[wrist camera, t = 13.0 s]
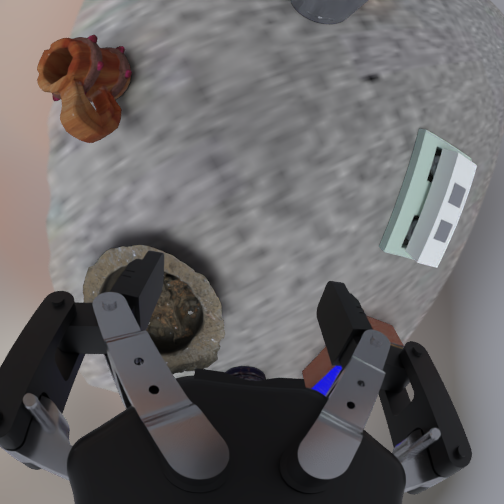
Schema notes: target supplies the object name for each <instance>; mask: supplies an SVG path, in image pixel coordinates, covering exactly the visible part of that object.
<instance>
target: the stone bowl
mask: <svg viewBox="0 0 504 504" xmlns="http://www.w3.org/2000/svg"><path fill="white" fill-rule="evenodd" d="M149 250H150V251H156V252H162V253H164V279H163V288H162V292H161V295H160V297H159V299H158V302H157V304H156V307H155V309H154V311H153V314H152V316H151V319H150V321H149V322H150V324H149V325H148V326H147V329H146V331H147V332H148V334H149V335H150V337H151V339H152V341H153V343H154V344H155V346H156V348H157V350H158V351H159V353H160V355H161V356H162V358H163V360H164V361H165V363H166V365H167V366H168V368H169V369H170V371H171V373H172V374H174V373H178V372H180V373H182V372H184V371H195V368H199V369H204V368H207V367H209V366H210V365H211V364H212V363H214V362H215V361H216V360H217V359H218V357H217V352H218V350H219V349H220V345H219V342H220V341H221V339H223V338H224V336H225V331H224V321H223V319H222V310H221V309H222V306H221V303H220V300H219V298H218V297H217V296H216V294H215V291H214V289H213V288H212V287H211V286H210V284H209V281H208V280H207V278H206V277H205V276H203V275H202V274H200V273H196V272H195V271H194V270H193V269H192V268H190V267H189V266H188V265H186V264H185V263H183V262H181V261H179V260H178V259H177V258H175V257H174V256H173V255H171V254H167V253H165V252H163V251H161V250H158V249H156V248H153V247H150V246H144V245H136V246H134V245H132V247H130V246H129V247H124V246H122V247H119V248H111V249H109V250H108V251H106V252H105V253H104V254H103V255H102V256H101V257H100V258H99V259H98V261H97V263H95V265H94V266H91V267H89V268H88V271H87V274H86V277H85V281H84V285H83V294H84V303H92V302H93V300H94V299H95V297H97V296H98V295H100V294H102V293H105V292H110V290H111V289H112V287H113V286H114V284H115V283H116V281H117V280H118V278H119V277H120V276H121V274H122V272H123V271H124V270H125V268H126V267H127V265H128V264H129V263H130V262H132V261H133V260H135V259H143V258H144V256H145V255H146V253H147V252H148V251H149ZM188 311H192V312H194V313H193V314H191V315H189V314H188Z"/></svg>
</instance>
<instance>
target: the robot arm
mask: <svg viewBox="0 0 504 504" xmlns="http://www.w3.org/2000/svg"><path fill="white" fill-rule="evenodd" d="M367 1H368V0H291V3H292V5H293V6H294V8H295V9H296V10H297V11H298V12H299V13H300V14H302V15H303V16H305V17H306V18H308V19H310V20H312V21H315V22H319V23H323V24H336V23H339V22H342V21H344V20H345V19H347V18H348V17H349V16H350V15H351V14H352V13H354V12H355V11H356V10H357V9H359V8H360V7H361V6H362V5H363V4H365V3H366V2H367ZM163 279H164V253H162V252H156V251H150V250H149V251H148V252H147V253H146V255H145V256H144V258H143V259H135V260H133V261H132V262H130V263H129V264H128V265H127V267H126V268H125V270H124V271H123V272H122V274H121V276H120V277H119V278H118V280H117V281H116V283H115V284H114V286H113V287H112V289H111V290H110V292H105V293H102V294H100V295H98V296H97V297H95V299H94V300H93V302H92V303H75V302H74V298H73V296H72V295H71V294H70V293H68V292H66V291H56V292H53V293H51V294H49V295H48V296H47V297H46V298H45V299H44V300H43V302H42V303H41V304H40V306H39V307H38V309H37V310H36V311H35V313H34V314H33V316H32V317H31V319H30V320H29V322H28V323H27V325H26V326H25V328H24V329H23V331H22V332H21V334H20V335H19V337H18V339H17V340H16V342H15V343H14V345H13V346H12V348H11V350H10V351H9V353H8V355H7V357H6V358H5V360H4V362H3V364H2V365H1V367H0V447H1V448H2V449H4V450H5V451H6V452H7V453H9V454H10V455H11V456H13V457H14V458H15V459H16V460H18V461H20V462H22V463H23V464H25V465H26V466H28V467H29V468H31V469H35V470H38V469H44V470H46V471H48V472H51V473H53V474H55V475H57V476H60V477H62V478H65V479H67V480H69V481H70V484H71V487H72V491H73V494H74V501H75V504H402V498H403V494H404V492H408V493H409V494H418V493H420V492H422V491H424V490H426V489H428V488H430V487H432V486H433V485H435V484H437V483H439V482H441V481H443V480H444V479H446V478H448V477H449V476H451V475H453V474H454V473H456V472H458V471H459V470H461V469H462V468H464V467H465V466H467V465H468V464H469V462H470V460H471V457H472V452H471V448H470V445H469V442H468V439H467V437H466V434H465V432H464V429H463V427H462V424H461V422H460V419H459V417H458V414H457V412H456V410H455V408H454V405H453V403H452V401H451V399H450V396H449V394H448V392H447V390H446V388H445V386H444V384H443V382H442V380H441V378H440V376H439V373H438V372H437V370H436V368H435V366H434V364H433V362H432V360H431V358H430V356H429V354H428V352H427V351H426V349H425V348H424V347H423V346H422V345H420V344H419V343H416V342H412V341H410V342H407V343H406V344H405V346H404V347H403V349H401V348H398V347H394V346H391V345H390V341H389V339H388V338H387V337H386V336H385V335H384V334H383V333H381V332H379V331H377V330H373V328H372V326H371V324H370V322H369V320H368V318H367V316H366V314H364V311H363V309H362V308H361V305H360V303H359V301H358V300H357V299H356V298H355V297H354V296H353V295H352V294H350V293H349V291H348V290H347V288H346V286H345V284H344V283H341V282H334V281H329V282H328V283H327V285H326V287H325V290H324V292H323V295H322V297H321V299H320V302H319V304H318V307H317V319H318V322H319V325H320V328H321V332H322V335H323V338H324V341H325V345H326V348H327V351H328V355H329V358H330V361H331V365H332V366H341V367H342V369H341V371H340V372H339V374H338V375H337V377H336V379H335V380H334V382H333V384H332V385H331V387H330V389H329V390H328V392H327V394H326V395H323V394H321V393H320V392H318V391H316V390H313V389H311V388H308V387H306V386H305V381H304V379H292V378H274V379H266V380H259V381H249V380H246V379H243V378H239V377H236V376H233V375H230V374H227V373H224V372H219V371H212V370H205V369H199V368H195V374H194V376H185V377H180V378H176V379H175V377H174V376H173V374H172V373H171V371H170V369H169V368H168V366H167V365H166V363H165V361H164V360H163V358H162V356H161V355H160V353H159V351H158V350H157V348H156V346H155V344H154V343H153V341H152V339H151V337H150V335H149V334H148V332H147V331H146V329H147V326H148V324H149V321H150V319H151V316H152V314H153V311H154V309H155V307H156V304H157V302H158V299H159V297H160V295H161V292H162V288H163ZM85 354H104V357H105V360H106V362H107V365H108V367H109V370H110V372H111V375H112V377H113V380H114V382H115V385H116V387H117V389H118V392H119V395H120V397H121V399H122V402H123V404H124V406H125V409H126V410H125V411H123V412H122V413H120V414H118V415H117V416H115V417H114V418H112V419H111V420H109V421H108V422H106V423H104V424H103V425H101V426H100V427H98V428H97V429H95V430H93V431H92V432H90V433H88V434H87V435H85V436H83V437H82V438H80V439H79V440H78V441H77V442H76V443H75V444H74V445H73V446H71V445H70V442H69V431H70V430H69V425H68V422H67V421H66V419H65V418H64V416H63V415H62V413H63V410H64V407H65V405H66V402H67V399H68V396H69V393H70V391H71V388H72V385H73V383H74V380H75V378H76V375H77V373H78V370H79V368H80V365H81V363H82V361H83V358H84V356H85ZM409 383H411V385H412V388H413V390H414V399H413V400H412V402H411V401H410V399H409V396H408V393H407V391H406V388H405V387H406V386H407V385H408V384H409ZM378 394H379V397H380V400H381V403H382V407H383V410H384V413H385V417H386V420H387V424H388V428H389V431H390V435H391V438H392V442H393V446H394V449H393V452H392V453H391V452H390V451H389V450H387V449H386V448H385V447H383V446H382V445H381V444H380V443H379V442H378V441H377V440H375V439H374V438H373V437H372V436H371V435H369V434H368V433H367V432H366V431H365V430H364V427H365V425H366V423H367V420H368V418H369V416H370V413H371V411H372V408H373V406H374V403H375V401H376V398H377V396H378Z"/></svg>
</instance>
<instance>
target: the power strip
mask: <svg viewBox="0 0 504 504" xmlns="http://www.w3.org/2000/svg"><path fill="white" fill-rule="evenodd" d="M476 168H477V165H475V164H474V163H473V162H471V161H470V160H468V159H467V158H466V157H464V156H463V155H461V154H460V153H458V152H455V151H451V150H448V149H444V148H443V149H442V152H441V156H438V155H436V156H434V159H433V162H432V166H431V169H430V172H429V173H430V175H431V176H432V177H433V181H432V184H431V187H430V190H429V193H428V196H427V199H426V201H425V204H424V207H423V209H422V212H421V214H420V217H419V219H418V220H412V222H411V225H410V227H409V230H408V232H407V234H406V238H407V239H408V240H409V243H408V245H407V248H406V250H405V251H406V252H407V253H408V254H409V255H410V256H411V257H412V258H413V259H414V260H415V261H416V262H417V263H421V264H425V265H429V266H432V267H436V268H437V267H438V265H439V263H440V261H441V259H442V257H443V255H444V252H445V250H446V248H447V246H448V244H449V242H450V239H451V237H452V235H453V232H454V230H455V228H456V225H457V223H458V220H459V218H460V215H461V212H462V210H463V207H464V204H465V202H466V199H467V196H468V193H469V190H470V187H471V184H472V181H473V178H474V174H475V171H476Z"/></svg>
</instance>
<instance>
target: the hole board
mask: <svg viewBox="0 0 504 504" xmlns="http://www.w3.org/2000/svg"><path fill="white" fill-rule="evenodd" d="M436 148H438V149H439V150H441V151H442V149H443V148H444V149H448V150H451V151H455V152H458V153H460V154H461V155H463V156H464V157H466V158H467V159H468V160H470V161H471V160H472V159H471V158H470V157H468V156H467V155H465V154H464V153H462V152H461V151H460V150H458V149H457V148H455V147H454V146H452V145H450V144H449V143H447V142H446V141H444V140H443V139H441V138H439V137H438V136H436V135H434V134H433V133H431V132H429V131H427V130H425V129H419V131H418V135H417V139H416V143H415V146H414V150H413V153H412V156H411V160H410V163H409V166H408V170H407V173H406V176H405V179H404V182H403V185H402V188H401V191H400V194H399V196H398V199H397V202H396V205H395V207H394V210H393V213H392V215H391V218H390V221H389V223H388V226H387V228H386V231H385V233H384V236H383V238H382V240H381V243H380V245H379V247H380V248H381V249H382V250H383V251H384V252H387V253H391V254H395V255H399V256H403V257H406V258H410V259H413V258H412V257H411V256H410V255H409V254H408V253H407V252H406V251H405V250H406V248H407V245H404V244H403V242H404V239H405V237H406V234H407V232H408V230H409V227H410V225H411V222H412V220H413V217H414V215H417V216H420V214H421V212H422V209H423V207H424V204H425V201H426V199H427V196H428V193H429V190H430V187H431V184H432V183H431V182H429V181H427V178H428V175H429V172H430V169H431V166H432V162H433V159H434V155H435V152H436Z"/></svg>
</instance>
